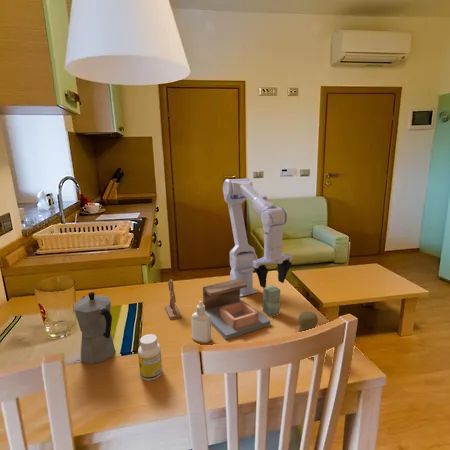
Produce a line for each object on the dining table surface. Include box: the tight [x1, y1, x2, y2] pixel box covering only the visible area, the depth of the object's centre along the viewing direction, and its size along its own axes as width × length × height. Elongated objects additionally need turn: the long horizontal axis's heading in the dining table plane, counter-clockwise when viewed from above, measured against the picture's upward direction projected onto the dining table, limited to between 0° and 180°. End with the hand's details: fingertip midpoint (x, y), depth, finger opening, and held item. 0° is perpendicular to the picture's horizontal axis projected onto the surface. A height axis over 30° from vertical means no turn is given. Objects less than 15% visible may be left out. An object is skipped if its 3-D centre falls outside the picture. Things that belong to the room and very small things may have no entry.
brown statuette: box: [164, 279, 182, 321], centre depth 104 cm, size 9×4×12 cm, turn 22°
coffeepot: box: [73, 291, 116, 365], centre depth 82 cm, size 15×9×18 cm, turn 49°
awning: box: [202, 279, 247, 310], centre depth 105 cm, size 6×14×8 cm, turn 119°
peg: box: [262, 284, 281, 318], centre depth 104 cm, size 4×4×9 cm
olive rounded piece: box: [297, 310, 319, 332], centre depth 84 cm, size 6×6×11 cm
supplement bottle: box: [137, 333, 163, 381], centre depth 75 cm, size 5×5×10 cm
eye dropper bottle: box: [190, 300, 212, 344], centre depth 89 cm, size 4×6×12 cm
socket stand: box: [205, 298, 271, 340], centre depth 101 cm, size 18×16×4 cm
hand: (272, 284), depth 102 cm, fingers open, 7 cm apart
